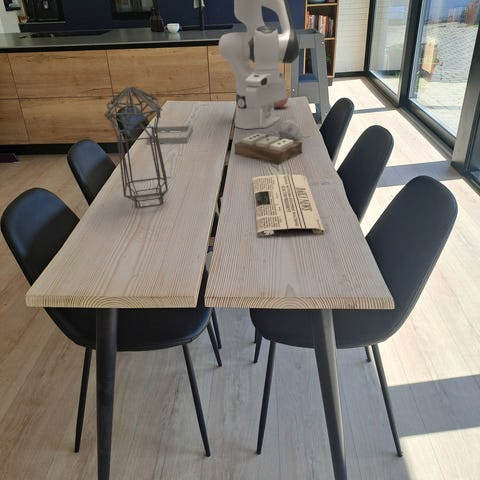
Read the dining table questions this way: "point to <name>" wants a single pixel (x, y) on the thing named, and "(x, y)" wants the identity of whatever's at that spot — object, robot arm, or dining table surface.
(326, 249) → the dining table surface
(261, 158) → the button panel
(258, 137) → the button three
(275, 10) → the robot arm
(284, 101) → the decorative fruit
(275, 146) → the button two
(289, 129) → the grey rock
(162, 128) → the frame
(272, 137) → the button one
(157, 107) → the geometric lantern
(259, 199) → the newspaper
